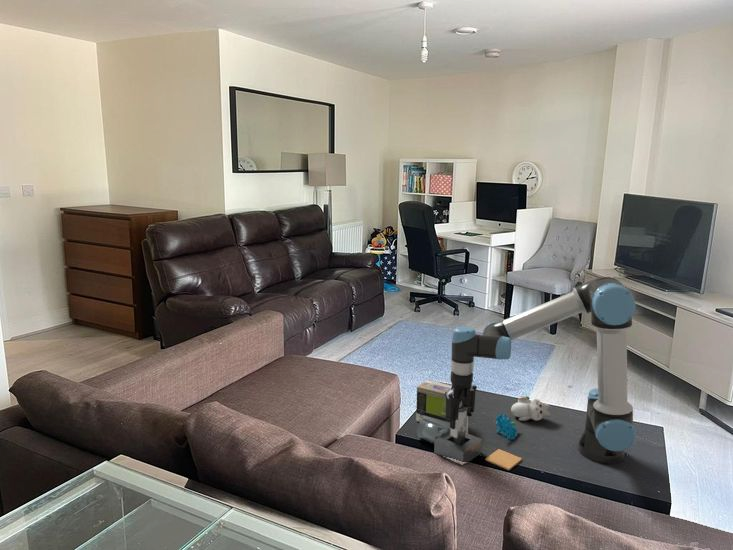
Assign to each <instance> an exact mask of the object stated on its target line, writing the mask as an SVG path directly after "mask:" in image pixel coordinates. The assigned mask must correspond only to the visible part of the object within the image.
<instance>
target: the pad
mask: <svg viewBox="0 0 733 550" xmlns="http://www.w3.org/2000/svg"><path fill="white" fill-rule="evenodd" d="M485 461H486V462H488V463H490V464H493V465H495V466H498V467H500V468H502V469H503V470H507V471H510V470H512V469H513V468H514V467H515V466H517V465H518V464H520V462H521V461H523V458H522V457H520V456H517V455H515V454H512V453H510V452H508V451H505V450H503V449H500V448H498V449H497V450H495V451H494V452H492V453H491V454H490V455H488V456H487V457H486V458H485Z"/></svg>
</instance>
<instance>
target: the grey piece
mask: <svg viewBox="0 0 733 550" xmlns="http://www.w3.org/2000/svg"><path fill="white" fill-rule="evenodd" d="M450 433H451V430H449V429H448V428H446V427H444V426H441V425H439V424H437V423H434V422H432V421H429V420H427V419H423V420H421V421H420V422H419V423H418V425H417V427H416V436H417V437H418V438H420V439H423V440H425V441H427V442H429V443H431V444H433V446H434V447H433V448H434V450H433V453H434V454H436V455H438V456H440V455H441V456H440V457H442V456H445V457H449V458H453V459H456V460H459V461H462V462H468V463H469V462H471V461H472V460H474V459H475V458H476V457H477V456H479V455H481V454H482V453H483V441H484V440H483V439H482V438H480V437H478V436H474V435H473V434H471V433H468V434H466V435H465V444H463V445H462V446H460V445H458V444H455V443H453V442H452V440H453V436H451V435H450Z"/></svg>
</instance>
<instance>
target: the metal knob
mask: <svg viewBox="0 0 733 550" xmlns="http://www.w3.org/2000/svg"><path fill="white" fill-rule="evenodd" d="M467 410H468V406H466V405H464V404H462V402H461V403H460V405H459V409H458V415H457V420H458V438H455V437H453V440H452V442H453V443H455V444H458V445H460V446H462V445H463V444H465V435H466V414H467Z"/></svg>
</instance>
